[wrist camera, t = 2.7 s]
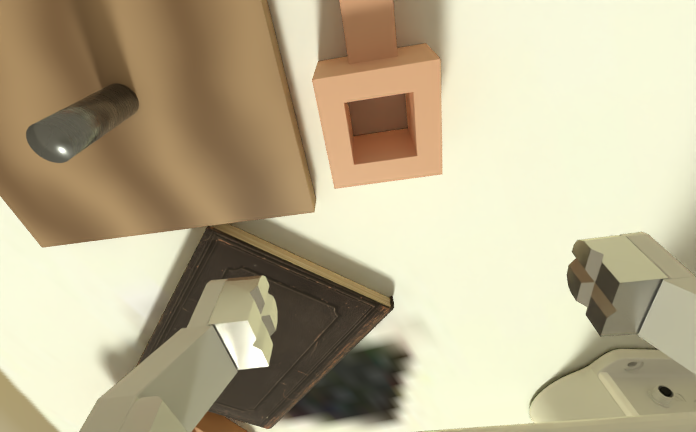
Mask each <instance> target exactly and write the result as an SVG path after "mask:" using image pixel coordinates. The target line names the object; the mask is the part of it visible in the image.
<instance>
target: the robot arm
mask: <svg viewBox="0 0 696 432" xmlns="http://www.w3.org/2000/svg"><path fill="white" fill-rule="evenodd" d="M572 253H573V254H574V256H575V257H576V259H575V260H574V261H573V262H572V263H571V264H570V265H569V266H568V271H567V280H568V286H569V289H570V291H571V293H572V295H573V296H574V298H575V300H576V301H578V302H579V303H581V304H583V305H585V306H586V307H587V311H586V316H587V317H588V319H589V320H590V322H591V323H592V325H593V326H594V328H595V329H596V331H597V332H598V334H599V335H600V336H614V335H630V334H638V336H639V337H641V338H642V339H644V340H645V341H646V342H648V343H649V344H651V345H652V346H654V347H655V348H657V349H658V350H648V349H616V350H612V351H610V352H608V353H606V354H604V355H603V356H601V357H600V358H598V359H597V360H596V361H594V362H593V363H592V364H590V365H589V366H587V367H585V368H583V369H581V370H579V371H576V372H574V373H571V374H569V375H567V376H565V377H562V378H560V379H559V380H557V381H555V382H553V383H552V384H550V385H549V386H547V387H546V388H545V389H543V390H542V391H541V392H540V393H539V394H538V395H537V396H536V397H535V399H534V400H533V402H532V404H531V406H530V410H529V414H530V418H531V420H532V421H533V423H528V424H514V425H500V426H486V427H473V428H459V429H445V430H431V431H418V432H696V276H694V275H693V274H692V273H691V272H690V271H689V270H688V269H687V268H685V267H684V266H683V265H682V264H681V263H680V262H679V261H678V260H677V259H675V258H674V257H673V256H672V255H671V254H670V253H669V252H668V251H667V250H665V249H664V248H663V247H662V246H661V245H660V244H659V243H658V242H657V241H655V240H654V239H653V238H652V237H651V236H650V235H649V234H646V233H644V232H636V233H628V234H621V235H615V236H606V237H598V238H590V239H581V240H577V241H576V243H575V244H574V246H573V250H572ZM268 289H269V283H268V281H267V279H266V277H265V276H263V275H261V276H250V277H239V278H228V279H220V280H211V281H209V282H208V283H207V284H206V286H205V288H204V291H203V293H202V295H201V297H200V300H199V302H198V304H197V306H196V308H195V311H194V313H193V315H192V317H191V320H190V322H189V324H188V326H187V328H181V329H180V330H179V331H178V332H177V333H175V334H174V335H173V336H172V337H171V338H170V339H168V340H167V341H166V342H165V343H164V344H163V345H161V346H160V347H159V348H158V349H157V350H155V351H154V352H153V353H152V354H151V355H150V356H148V357H147V358H146V359H145V360H144V361H143V362H141V363H140V364H139V365H138V366H137V367H135V368H134V369H133V370H132V371H131V372H130V373H128V374H127V375H126V376H125V377H124V378H122V379H121V380H120V381H119V382H118V383H117V384H115V385H114V386H113V387H112V388H111V389H110V390H108V391H107V392H106V393H105V394H104V395H102V396H101V397H100V398H99V399H98V400H97V402H96V404H95V405H94V407H93V409H92V411H91V412H90V414H89V416H88V417H87V419H86V421H85V423H84V424H83V426H82V428H81V430H80V431H79V432H192V430H193V429H194V428H195V427H196V425H197V424H198V423H199V421H200V420H201V419H202V418H203V416H204V415H205V414H206V412H207V411H208V410H209V408H210V407H211V406H212V405H213V403H214V402H215V401H216V399H217V398H218V397H219V396H220V394H221V393H222V392H223V390H224V389H225V388H226V386H227V385H228V384H229V383H230V381H231V380H232V379H233V377H234V376H235V375H236V373H237V372H238V371H237V370H241V369H250V368H258V367H267V366H269V362H270V357H271V352H272V347H273V343H272V340H271V338H270V336H271V335H272V334H273V333H274V332H275V331H276V327H277V306H276V302H275V299H274V297H273V296H272V295H270V294H269V293H268Z"/></svg>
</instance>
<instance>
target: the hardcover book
mask: <svg viewBox="0 0 696 432" xmlns="http://www.w3.org/2000/svg"><path fill="white" fill-rule="evenodd" d="M261 275H263V276H265V277H266V279H267V281H268V283H269V289H268V293H269V294H270V295H272V296H273V297H274V299H275V302H276V306H277V327H276V331H275V332H274V333H273V334H272V335H271V336H270V338H271V340H272V343H273V347H272V352H271V357H270V362H269V366H267V367H258V368H250V369H241V370H237V371H238V372H237V373H236V375H235V376H234V377H233V379H232V380H231V381H230V383H229V384H228V385H227V386H226V388H225V389H224V390H223V392H222V393H221V394H220V396H219V397H218V398H217V399H216V401H215V402H214V403H213V405H212V406H211V407H210V408H209V410H208V412H212V413H215V414H219V415H222V416H225V417H229V418H232V419H236V420H239V421H242V422H246V423H249V424H253V425H256V426H260V427H263V428H266V429H270V428H272V427H273V426H274V425H275V424H276V423H277V422H278V421H279V420H280V419H281V418H282V417H283V416H284V415H285V414H286V413H287V412H288V411H289V410H290V409H291V408H292V407H293V406H294V405H296V404H297V403H298V402H299V401H300V400H301V399H302V398H303V397H304V396H305V395H306V394H307V393H308V392H309V391H310V390H311V389H312V388H313V387H314V386H315V385H316V384H317V383H318V382H319V381H320V380H321V379H322V378H323V377H324V376H325V375H326V374H327V373H328V372H329V371H330V370H331V369H332V368H333V367H334V366H335V365H336V364H337V363H338V362H340V361H341V360H342V359H343V358H344V357H345V356H346V355H347V354H348V353H349V352H350V351H351V350H352V349H353V348H354V347H355V346H356V345H357V344H358V343H359V342H360V341H361V340H362V339H363V338H364V337H365V336H366V335H367V334H368V333H369V332H370V331H371V330H372V329H373V328H374V327H375V326H376V325H377V324H378V323H379V322H380V321H381V320H382V319H384V318H385V317H386V316H387V315H388V314H389V313H390V312H391V311H392V310H393V308H394V301H393V296H391V297H390V298H389V297H387V296H384V295H382V294H380V293H378V292H376V291H374V290H371V289H369V288H367V287H365V286H363V285H360V284H358V283H356V282H354V281H352V280H350V279H347V278H345V277H343V276H341V275H339V274H337V273H334V272H332V271H330V270H328V269H326V268H324V267H321V266H319V265H317V264H315V263H313V262H311V261H308V260H306V259H304V258H302V257H300V256H297V255H295V254H293V253H291V252H289V251H287V250H284V249H282V248H280V247H278V246H276V245H274V244H271V243H269V242H267V241H265V240H263V239H261V238H258V237H256V236H254V235H252V234H250V233H248V232H245V231H243V230H241V229H239V228H237V227H234V226H232V225H230V224H228V223H227V224H220V225H214V226H213V227H211V226H208V227H207V228H206V230H205V232H204V234H203V236H202V238H201V240H200V242H199V244H198V246H197V248H196V250H195V252H194V254H193V256H192V258H191V260H190V262H189V264H188V266H187V268H186V270H185V272H184V274H183V276H182V278H181V280H180V281H179V283H178V285H177V287H176V289H175V291H174V293H173V295H172V297H171V299H170V301H169V303H168V305H167V307H166V309H165V311H164V313H163V315H162V317H161V319H160V321H159V323H158V325H157V327H156V329H155V331H154V333H153V335H152V336H151V338H150V340H149V342H148V344H147V346H146V348H145V350H144V352H143V354H142V356H141V358H140V360H139V362H138V364H137V366H138V365H139V364H140V363H141V362H143V361H144V360H145V359H146V358H147V357H148V356H150V355H151V354H152V353H153V352H154V351H155V350H157V349H158V348H159V347H160V346H161V345H163V344H164V343H165V342H166V341H167V340H168V339H170V338H171V337H172V336H173V335H174V334H175V333H177V332H178V331H179V330H180V329H181V328H187V326H188V324H189V322H190V320H191V317H192V315H193V313H194V311H195V308H196V306H197V304H198V302H199V300H200V297H201V295H202V293H203V291H204V288H205V286H206V284H207V283H208V282H209V281H211V280H220V279H228V278H239V277H250V276H261ZM137 366H136V367H137Z"/></svg>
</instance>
